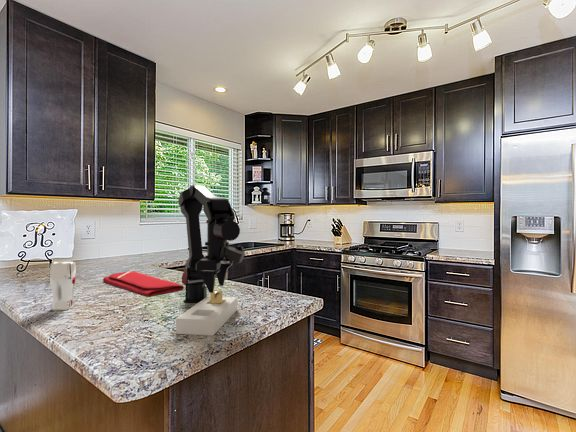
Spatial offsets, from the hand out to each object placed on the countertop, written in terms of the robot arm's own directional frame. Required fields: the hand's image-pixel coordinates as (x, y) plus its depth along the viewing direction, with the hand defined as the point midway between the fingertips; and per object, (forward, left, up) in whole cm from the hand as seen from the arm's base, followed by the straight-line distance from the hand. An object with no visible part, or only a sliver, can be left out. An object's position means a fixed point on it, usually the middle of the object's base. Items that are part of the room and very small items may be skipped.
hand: (216, 288), depth 98 cm
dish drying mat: (-46, +34, -9) cm, 58 cm away
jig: (0, -5, -8) cm, 10 cm away
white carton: (-52, 0, -8) cm, 53 cm away
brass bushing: (0, 0, -8) cm, 8 cm away
